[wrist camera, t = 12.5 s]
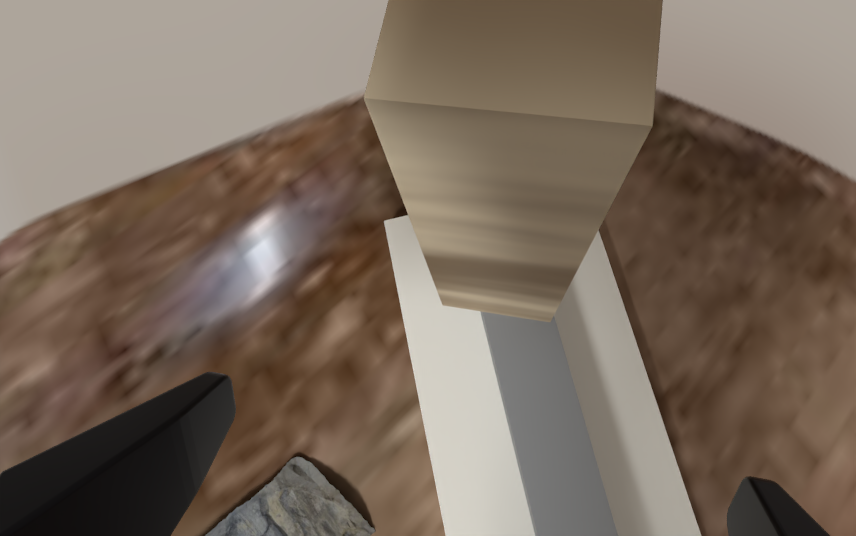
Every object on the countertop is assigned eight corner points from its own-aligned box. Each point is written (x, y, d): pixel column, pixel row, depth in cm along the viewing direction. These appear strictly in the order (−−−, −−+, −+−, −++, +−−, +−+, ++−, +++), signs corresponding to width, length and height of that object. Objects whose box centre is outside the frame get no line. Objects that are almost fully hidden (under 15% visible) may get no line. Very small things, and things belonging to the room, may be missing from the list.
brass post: (550, 322, 19) (652, 126, 7) (442, 305, 20) (363, 97, 8) (562, 221, 20) (670, -102, 8) (460, 208, 21) (416, -110, 9)
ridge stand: (768, 764, 18) (832, 840, 14) (503, 813, 18) (506, 898, 15) (576, 184, 25) (589, 144, 21) (388, 229, 25) (372, 197, 22)
